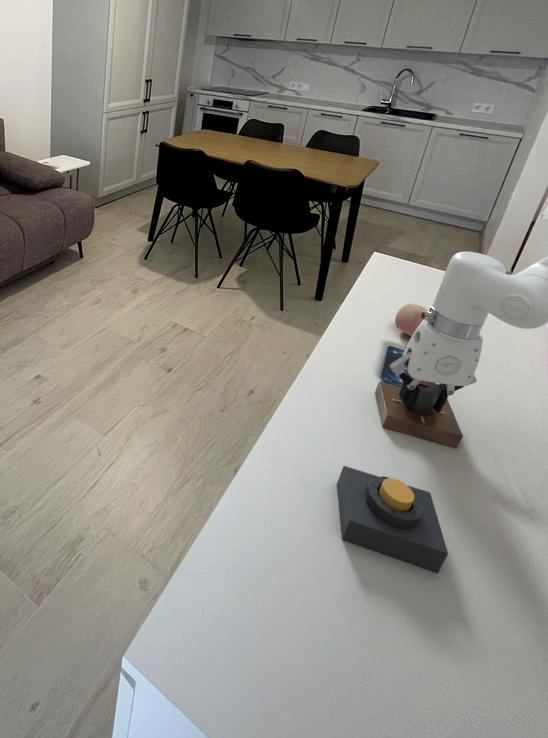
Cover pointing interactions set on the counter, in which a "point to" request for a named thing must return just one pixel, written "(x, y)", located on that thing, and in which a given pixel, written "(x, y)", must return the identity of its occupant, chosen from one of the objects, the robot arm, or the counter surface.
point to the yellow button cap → (396, 494)
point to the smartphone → (387, 372)
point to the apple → (409, 318)
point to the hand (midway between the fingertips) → (419, 403)
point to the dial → (425, 397)
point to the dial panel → (416, 418)
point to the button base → (389, 522)
